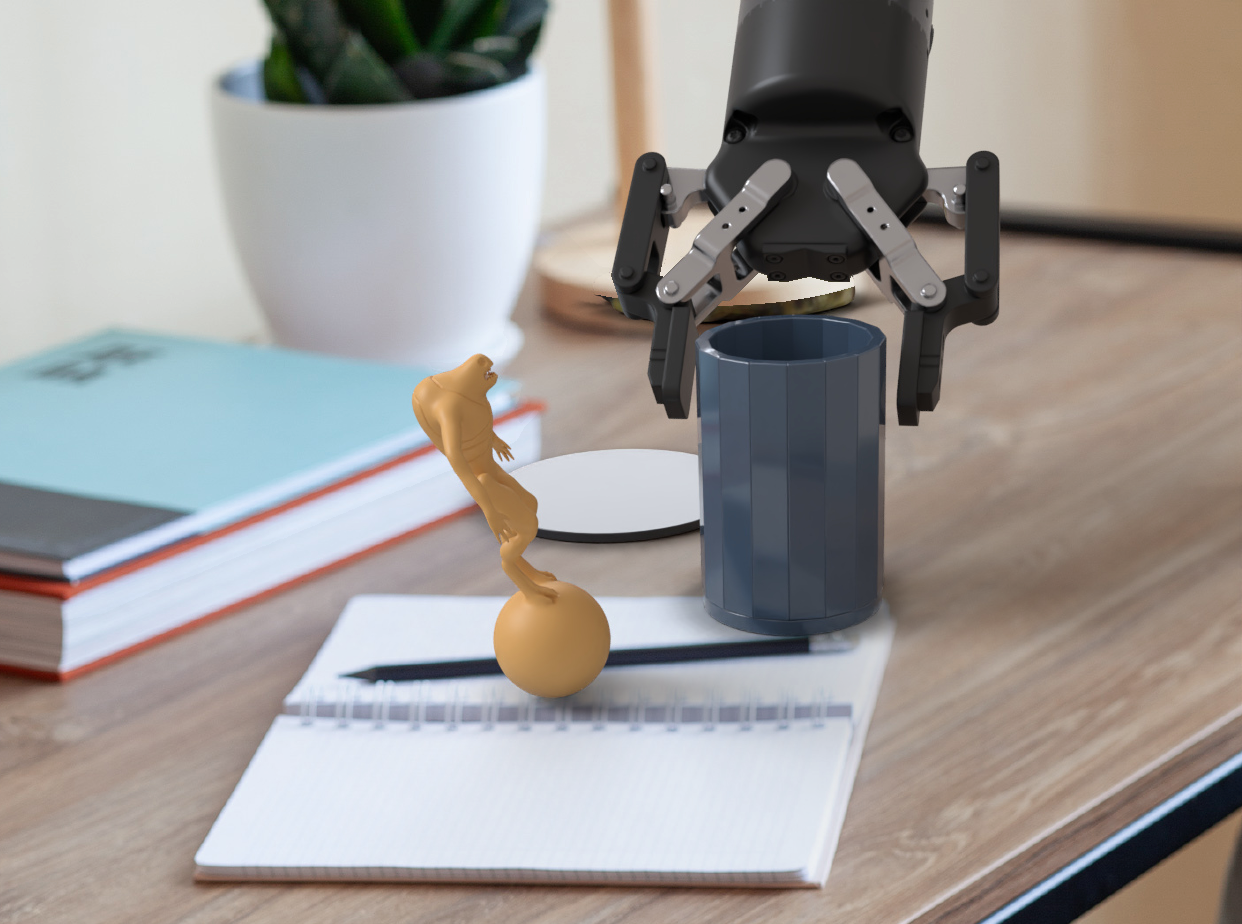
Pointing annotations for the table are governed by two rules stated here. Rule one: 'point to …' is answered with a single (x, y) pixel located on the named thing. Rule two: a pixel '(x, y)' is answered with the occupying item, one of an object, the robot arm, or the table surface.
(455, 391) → the figurine
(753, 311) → the seal
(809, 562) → the cup
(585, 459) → the coaster
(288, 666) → the table surface
